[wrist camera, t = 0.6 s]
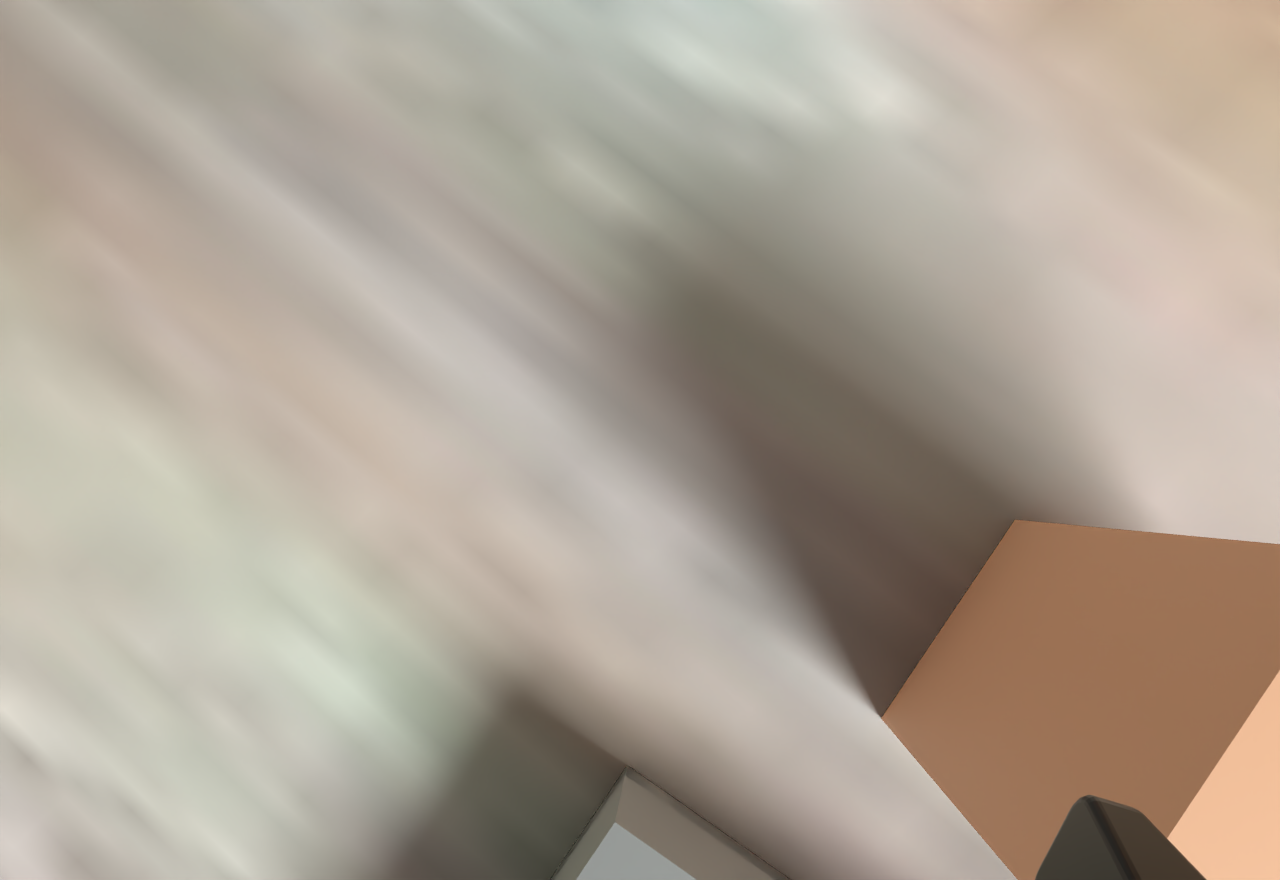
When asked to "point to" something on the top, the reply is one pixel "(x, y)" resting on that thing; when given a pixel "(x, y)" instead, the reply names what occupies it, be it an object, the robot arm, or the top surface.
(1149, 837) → the robot arm
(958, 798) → the peach block
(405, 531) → the top surface
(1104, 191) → the top surface
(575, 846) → the tray
